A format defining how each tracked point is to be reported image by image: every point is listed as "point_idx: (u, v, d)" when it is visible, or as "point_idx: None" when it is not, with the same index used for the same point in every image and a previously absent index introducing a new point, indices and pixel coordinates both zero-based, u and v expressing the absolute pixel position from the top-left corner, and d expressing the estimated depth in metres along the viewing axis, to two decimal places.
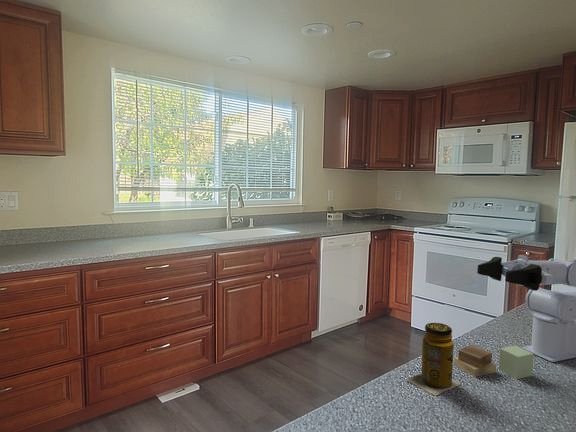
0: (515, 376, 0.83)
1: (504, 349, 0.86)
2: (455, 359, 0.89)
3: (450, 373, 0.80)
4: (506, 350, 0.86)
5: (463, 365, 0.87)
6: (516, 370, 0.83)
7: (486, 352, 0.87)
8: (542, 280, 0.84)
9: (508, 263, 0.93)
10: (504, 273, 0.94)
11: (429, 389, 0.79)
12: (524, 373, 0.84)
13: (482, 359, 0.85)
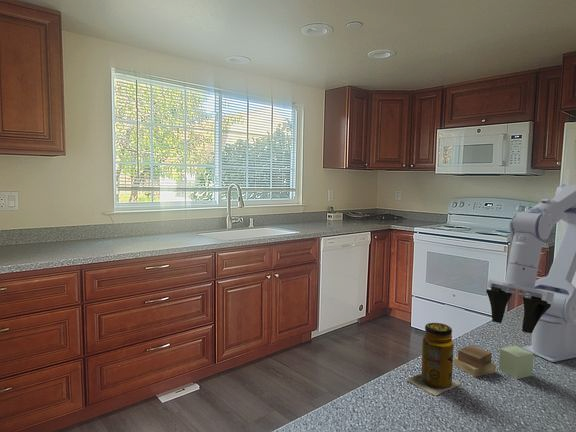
0: (515, 376, 0.83)
1: (504, 349, 0.86)
2: (455, 359, 0.89)
3: (450, 373, 0.80)
4: (506, 350, 0.86)
5: (462, 365, 0.87)
6: (516, 370, 0.83)
7: (486, 352, 0.87)
8: (546, 301, 0.80)
9: (500, 285, 0.88)
10: None
11: (429, 389, 0.79)
12: (524, 373, 0.84)
13: (482, 359, 0.85)
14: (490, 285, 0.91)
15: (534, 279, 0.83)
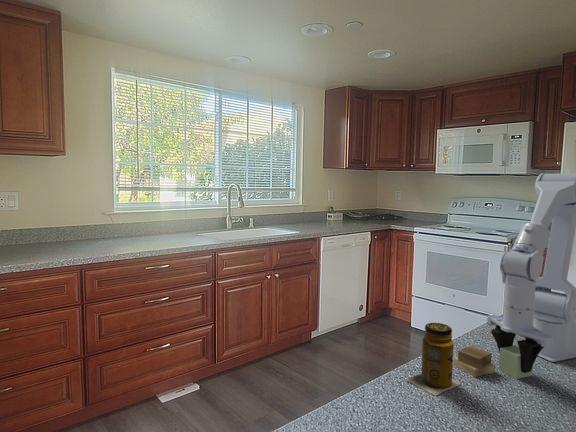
0: (515, 375, 0.83)
1: (504, 349, 0.86)
2: (454, 359, 0.89)
3: (450, 373, 0.80)
4: (506, 350, 0.86)
5: (462, 365, 0.87)
6: (516, 370, 0.83)
7: (486, 352, 0.87)
8: None
9: None
10: None
11: (429, 389, 0.79)
12: (524, 373, 0.84)
13: (482, 360, 0.85)
14: (490, 322, 0.91)
15: (532, 320, 0.83)
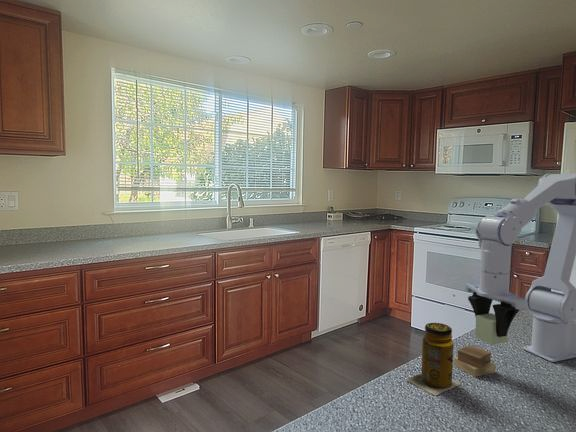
0: (490, 341, 0.84)
1: (480, 316, 0.87)
2: (455, 359, 0.89)
3: (450, 373, 0.80)
4: (482, 317, 0.86)
5: (462, 365, 0.87)
6: (491, 335, 0.84)
7: (485, 352, 0.87)
8: None
9: None
10: None
11: (429, 389, 0.79)
12: (499, 339, 0.84)
13: (482, 359, 0.85)
14: (467, 289, 0.91)
15: (507, 284, 0.83)
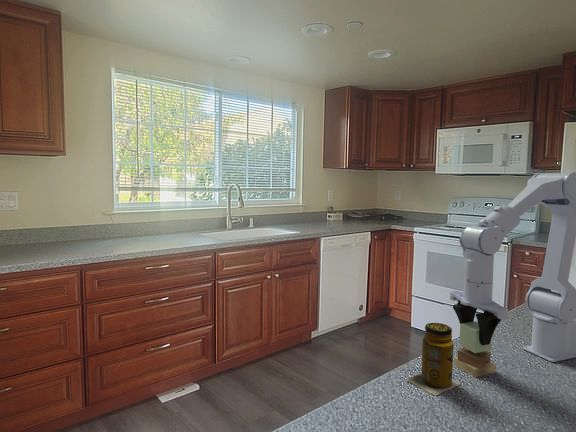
0: (473, 350, 0.85)
1: (464, 324, 0.88)
2: (455, 359, 0.89)
3: (450, 373, 0.80)
4: (466, 325, 0.87)
5: (462, 365, 0.87)
6: (474, 344, 0.85)
7: (485, 352, 0.87)
8: None
9: None
10: None
11: (429, 389, 0.79)
12: (482, 347, 0.85)
13: (482, 359, 0.85)
14: (452, 298, 0.92)
15: (490, 294, 0.84)
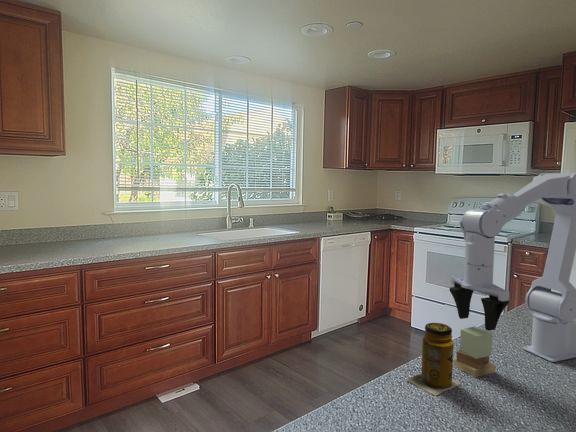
0: (475, 355, 0.85)
1: (464, 330, 0.88)
2: (455, 360, 0.89)
3: (450, 373, 0.80)
4: (466, 331, 0.87)
5: (462, 366, 0.87)
6: (476, 350, 0.84)
7: None
8: None
9: None
10: None
11: (429, 389, 0.79)
12: (483, 352, 0.85)
13: (481, 360, 0.85)
14: (453, 282, 0.92)
15: (491, 276, 0.84)
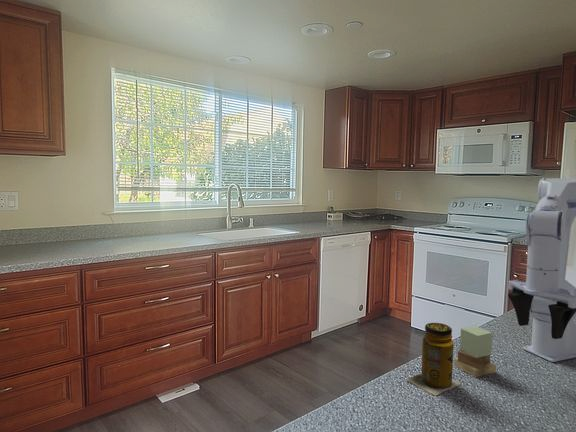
0: (475, 355, 0.85)
1: (465, 329, 0.88)
2: (455, 360, 0.89)
3: (450, 373, 0.80)
4: (466, 330, 0.87)
5: (463, 366, 0.87)
6: (476, 349, 0.85)
7: None
8: None
9: None
10: None
11: (429, 389, 0.79)
12: (483, 352, 0.85)
13: (482, 360, 0.85)
14: (511, 287, 0.88)
15: (557, 282, 0.79)
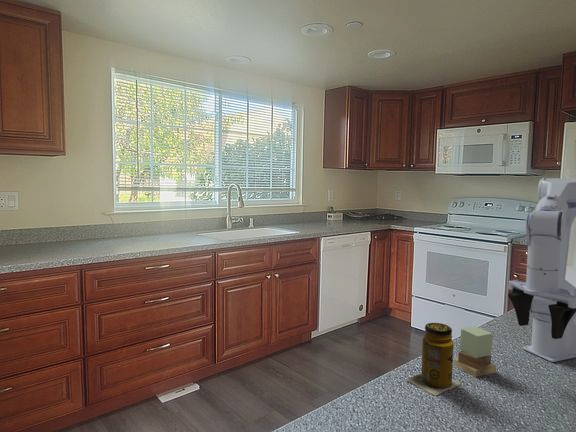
0: (475, 355, 0.85)
1: (465, 329, 0.88)
2: (455, 360, 0.89)
3: (450, 373, 0.80)
4: (467, 330, 0.88)
5: (463, 367, 0.87)
6: (476, 349, 0.85)
7: None
8: None
9: None
10: None
11: (429, 389, 0.79)
12: (483, 352, 0.86)
13: (483, 361, 0.85)
14: (511, 287, 0.88)
15: (557, 282, 0.79)
